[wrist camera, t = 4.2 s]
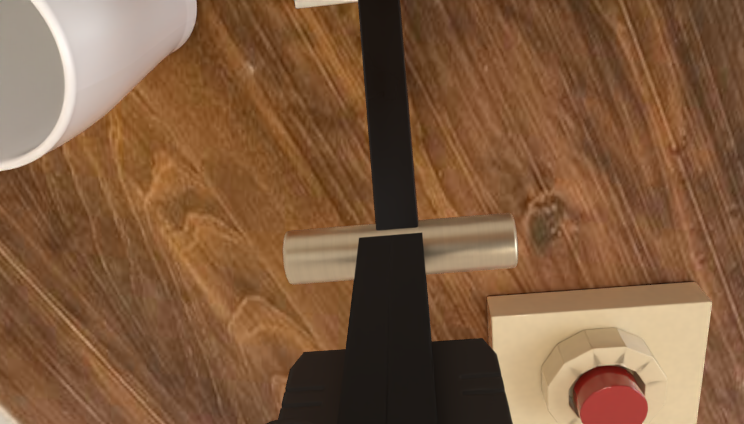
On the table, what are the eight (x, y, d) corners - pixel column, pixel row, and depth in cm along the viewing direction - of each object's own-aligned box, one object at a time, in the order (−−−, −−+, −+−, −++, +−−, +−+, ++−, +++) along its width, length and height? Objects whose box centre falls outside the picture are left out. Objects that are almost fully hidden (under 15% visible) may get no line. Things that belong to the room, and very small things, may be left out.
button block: (696, 280, 37) (728, 320, 33) (681, 402, 41) (709, 450, 37) (486, 295, 38) (495, 336, 34) (491, 413, 42) (500, 461, 38)
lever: (510, 266, 18) (523, 269, 16) (299, 282, 18) (279, 287, 16) (466, -216, 19) (471, -283, 16) (265, -188, 19) (242, -251, 17)
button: (639, 362, 35) (650, 383, 34) (635, 413, 37) (646, 436, 35) (572, 366, 35) (581, 388, 34) (571, 417, 37) (579, 439, 35)
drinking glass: (242, 26, 32) (125, 107, 18) (137, 93, 34) (-42, 212, 20) (158, -104, 30) (-48, -122, 16) (50, -26, 31) (-221, 18, 18)
